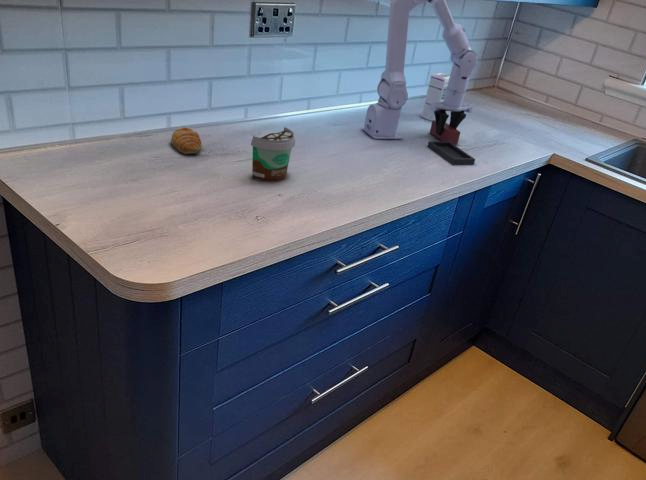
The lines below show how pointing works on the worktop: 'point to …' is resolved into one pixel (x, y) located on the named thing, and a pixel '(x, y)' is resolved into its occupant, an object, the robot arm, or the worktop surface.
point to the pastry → (186, 140)
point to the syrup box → (435, 93)
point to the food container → (272, 155)
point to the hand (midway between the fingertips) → (444, 134)
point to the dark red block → (446, 133)
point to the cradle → (451, 152)
